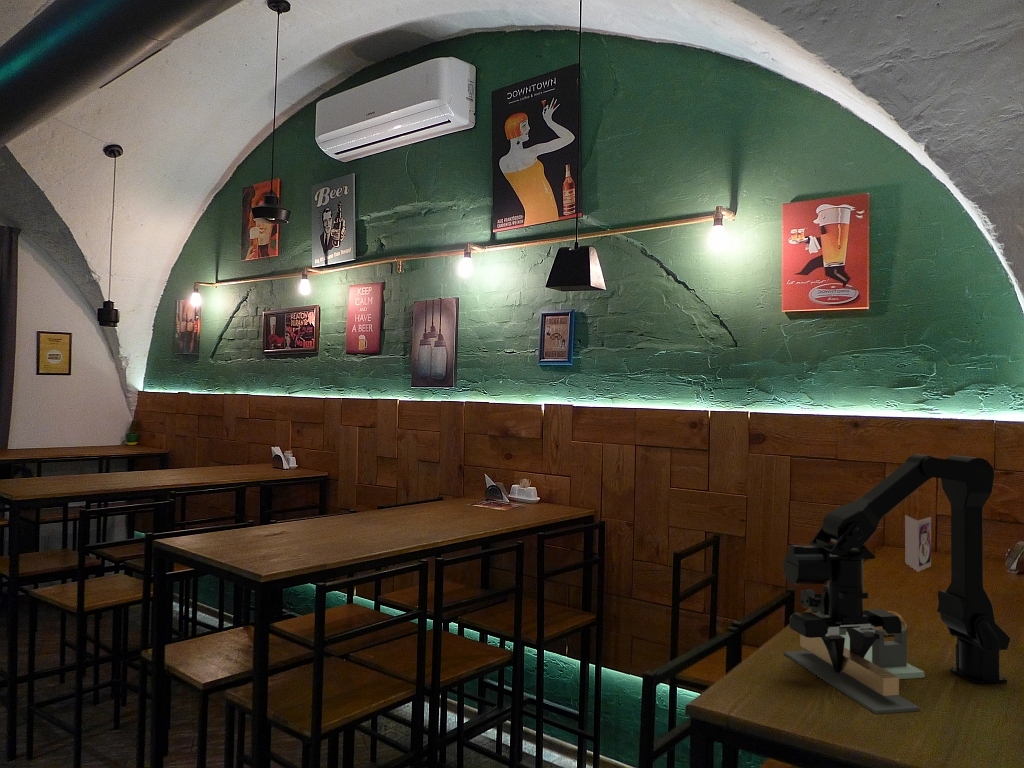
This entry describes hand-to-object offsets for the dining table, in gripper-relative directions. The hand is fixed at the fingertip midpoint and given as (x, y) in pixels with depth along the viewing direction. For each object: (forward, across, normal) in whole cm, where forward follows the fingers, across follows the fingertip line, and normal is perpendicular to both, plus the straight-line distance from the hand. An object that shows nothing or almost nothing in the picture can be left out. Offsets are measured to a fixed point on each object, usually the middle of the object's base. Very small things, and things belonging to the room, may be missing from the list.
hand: (845, 671), depth 128 cm
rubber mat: (+2, 0, 0) cm, 2 cm away
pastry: (+2, -26, -24) cm, 36 cm away
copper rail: (-1, 0, 0) cm, 1 cm away
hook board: (+2, -11, -12) cm, 16 cm away
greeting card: (+2, -76, -78) cm, 109 cm away
